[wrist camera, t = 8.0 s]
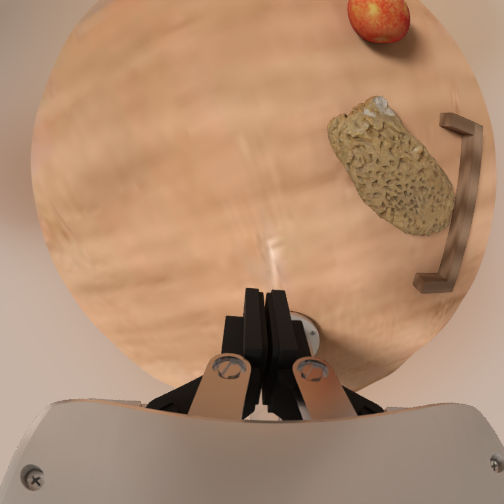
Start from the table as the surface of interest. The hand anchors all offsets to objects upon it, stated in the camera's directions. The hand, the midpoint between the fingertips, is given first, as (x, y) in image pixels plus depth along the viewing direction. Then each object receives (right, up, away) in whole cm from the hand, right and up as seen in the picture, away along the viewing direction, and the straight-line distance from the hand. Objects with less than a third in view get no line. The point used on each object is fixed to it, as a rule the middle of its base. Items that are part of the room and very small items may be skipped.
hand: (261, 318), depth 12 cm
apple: (+15, +33, +13) cm, 38 cm away
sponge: (+18, +14, +21) cm, 31 cm away
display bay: (+29, +10, +22) cm, 38 cm away
